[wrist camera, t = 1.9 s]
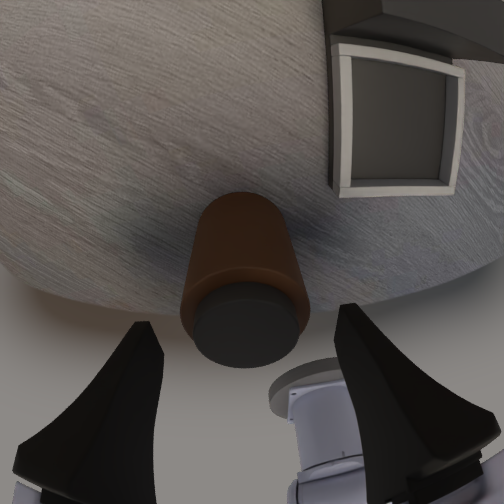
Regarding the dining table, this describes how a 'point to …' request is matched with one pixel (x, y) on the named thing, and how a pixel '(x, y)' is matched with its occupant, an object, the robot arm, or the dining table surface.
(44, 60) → the dining table surface
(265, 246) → the brown cylinder grey top
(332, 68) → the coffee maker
